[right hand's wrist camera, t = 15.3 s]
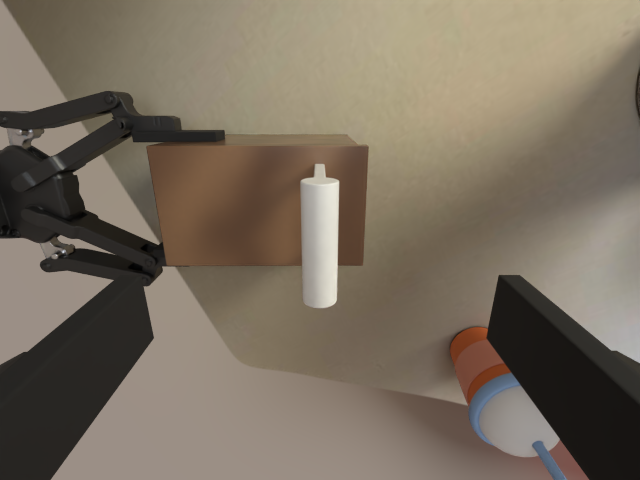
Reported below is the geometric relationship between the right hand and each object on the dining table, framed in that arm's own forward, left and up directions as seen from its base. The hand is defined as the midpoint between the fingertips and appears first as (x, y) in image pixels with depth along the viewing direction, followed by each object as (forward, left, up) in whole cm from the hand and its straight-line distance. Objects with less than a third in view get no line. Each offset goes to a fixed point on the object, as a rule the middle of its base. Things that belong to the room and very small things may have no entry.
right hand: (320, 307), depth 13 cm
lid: (+1, -4, -14) cm, 15 cm away
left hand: (+1, -8, -18) cm, 20 cm away
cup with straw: (+18, +22, -25) cm, 38 cm away
